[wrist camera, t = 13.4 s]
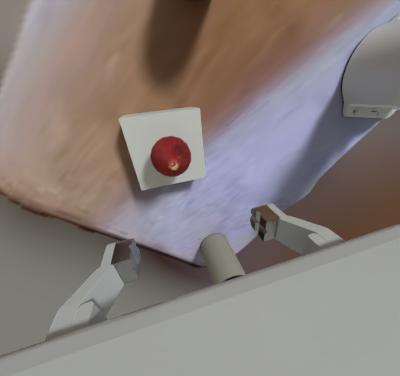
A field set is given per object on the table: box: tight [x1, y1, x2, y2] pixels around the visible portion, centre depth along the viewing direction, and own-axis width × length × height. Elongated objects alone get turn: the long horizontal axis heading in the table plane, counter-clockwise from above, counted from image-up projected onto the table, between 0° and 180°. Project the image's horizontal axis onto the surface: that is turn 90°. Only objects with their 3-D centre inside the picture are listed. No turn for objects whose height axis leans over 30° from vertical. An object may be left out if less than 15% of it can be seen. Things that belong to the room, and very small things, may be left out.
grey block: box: [119, 107, 206, 190], centre depth 29 cm, size 12×12×5 cm
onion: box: [150, 136, 191, 177], centre depth 24 cm, size 6×6×8 cm
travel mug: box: [201, 234, 246, 285], centre depth 41 cm, size 8×8×18 cm
